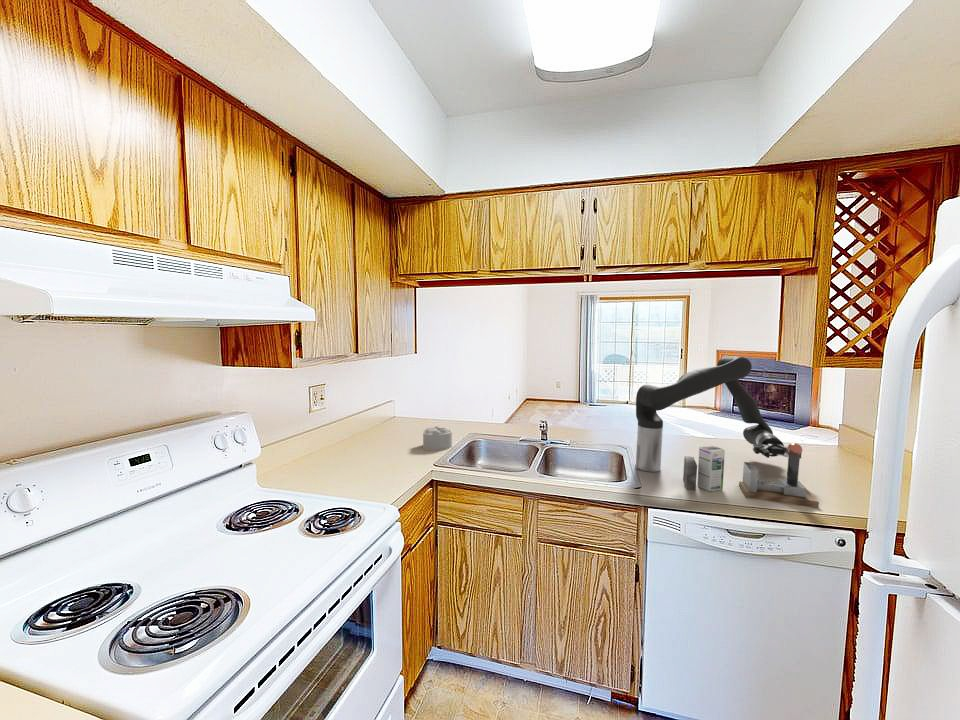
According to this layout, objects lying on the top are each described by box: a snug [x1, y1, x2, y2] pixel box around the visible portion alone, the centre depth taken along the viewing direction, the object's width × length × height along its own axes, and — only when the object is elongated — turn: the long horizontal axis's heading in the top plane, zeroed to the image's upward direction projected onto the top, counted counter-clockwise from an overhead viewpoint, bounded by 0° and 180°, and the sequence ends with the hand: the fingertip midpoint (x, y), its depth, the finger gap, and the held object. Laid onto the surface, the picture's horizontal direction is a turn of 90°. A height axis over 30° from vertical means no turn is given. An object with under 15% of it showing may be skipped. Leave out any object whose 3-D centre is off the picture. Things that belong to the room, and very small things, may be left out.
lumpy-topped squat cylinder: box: [422, 425, 453, 451], centre depth 191 cm, size 10×13×9 cm
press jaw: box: [742, 442, 808, 498], centre depth 140 cm, size 16×10×17 cm, turn 69°
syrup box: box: [697, 445, 726, 492], centre depth 147 cm, size 6×6×14 cm
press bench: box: [682, 455, 820, 509], centre depth 143 cm, size 38×10×9 cm, turn 69°
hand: (782, 456), depth 148 cm, fingers open, 8 cm apart
